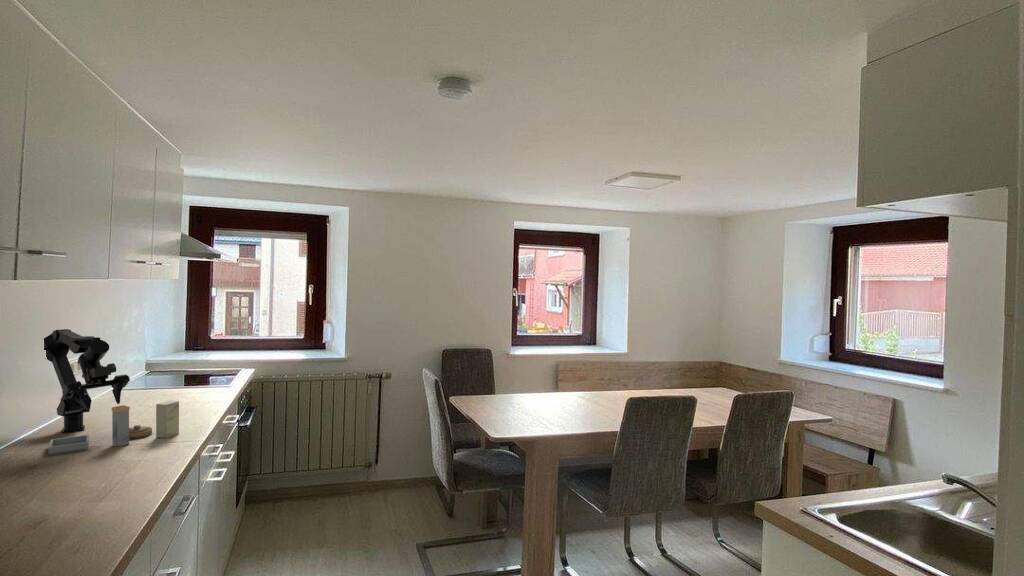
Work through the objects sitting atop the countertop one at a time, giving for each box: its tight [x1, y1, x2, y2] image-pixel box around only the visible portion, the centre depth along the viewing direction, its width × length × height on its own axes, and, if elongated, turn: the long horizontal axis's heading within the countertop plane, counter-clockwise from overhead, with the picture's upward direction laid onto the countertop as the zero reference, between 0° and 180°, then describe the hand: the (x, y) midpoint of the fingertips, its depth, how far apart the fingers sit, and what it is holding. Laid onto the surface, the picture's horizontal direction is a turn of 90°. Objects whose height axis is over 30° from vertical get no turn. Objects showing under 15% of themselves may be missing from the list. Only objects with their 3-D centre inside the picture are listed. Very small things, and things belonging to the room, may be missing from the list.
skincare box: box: [155, 400, 180, 439], centre depth 202 cm, size 6×4×12 cm
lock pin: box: [111, 405, 131, 448], centre depth 190 cm, size 4×4×13 cm
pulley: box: [129, 424, 153, 440], centre depth 201 cm, size 9×9×4 cm
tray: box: [47, 434, 90, 456], centre depth 186 cm, size 10×10×2 cm
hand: (103, 406), depth 194 cm, fingers open, 9 cm apart
